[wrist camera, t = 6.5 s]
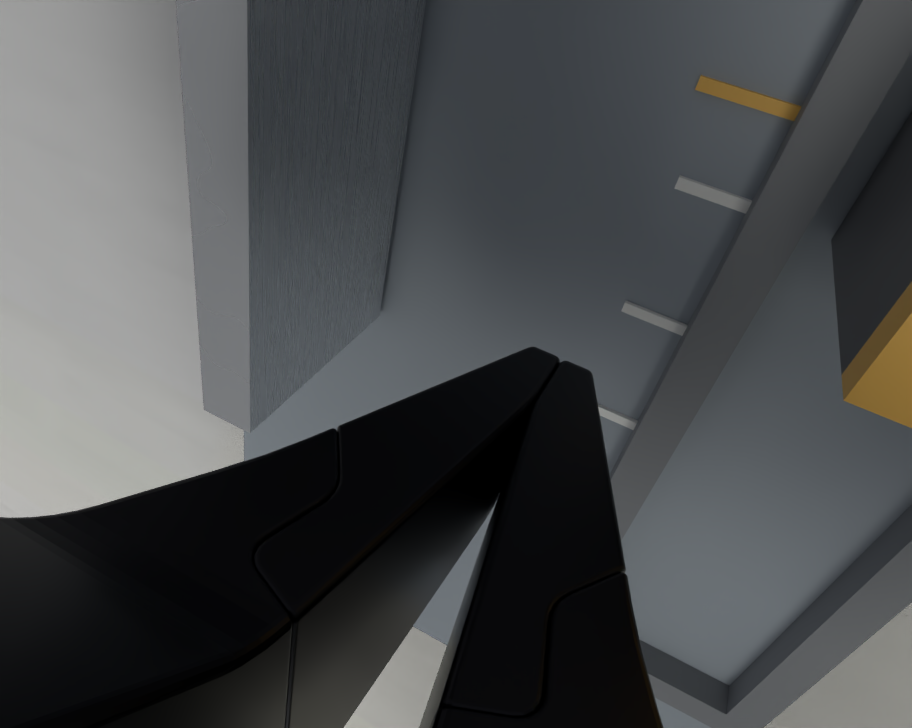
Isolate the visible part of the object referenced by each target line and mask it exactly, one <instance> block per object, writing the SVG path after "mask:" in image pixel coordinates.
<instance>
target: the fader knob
mask: <svg viewBox="0 0 912 728" xmlns="http://www.w3.org/2000/svg"><path fill="white" fill-rule="evenodd" d="M831 245H832V258H833V271H834V284H835V297H836V310H837V323H838V336H839V349H840V362H841V375H842V388H843V401H846V402H848V403H850V404H853V405H855V406H858V407H860V408H863V409H865V410H868V411H870V412H873V413H875V414H878V415H880V416H883V417H885V418H888V419H890V420H893V421H895V422H897V423H900V424H902V425H905V426H907V427H910V428H912V112H911V114H910V115H909V117H908V118H907V120H906V122H905V123H904V125H903V126H902V128H901V130H900V131H899V133H898V134H897V136H896V137H895V139H894V141H893V142H892V144H891V145H890V147H889V149H888V150H887V152H886V153H885V155H884V157H883V158H882V160H881V161H880V163H879V165H878V166H877V168H876V169H875V171H874V173H873V174H872V176H871V177H870V179H869V180H868V182H867V184H866V185H865V187H864V188H863V190H862V192H861V193H860V195H859V196H858V198H857V200H856V201H855V203H854V204H853V206H852V208H851V209H850V211H849V212H848V214H847V216H846V217H845V219H844V220H843V222H842V223H841V225H840V227H839V228H838V230H837V231H836V233H835V235H834V236H833V238H832V239H831Z"/></svg>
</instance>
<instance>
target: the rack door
mask: <svg viewBox="0 0 912 728" xmlns="http://www.w3.org/2000/svg"><path fill="white" fill-rule="evenodd" d="M425 3H426V0H176V9H177V23H178V38H179V53H180V67H181V82H182V96H183V111H184V126H185V140H186V155H187V170H188V184H189V199H190V213H191V228H192V243H193V257H194V272H195V286H196V301H197V316H198V330H199V345H200V360H201V374H202V389H203V403H204V410H206V411H208V412H210V413H211V414H213V415H215V416H217V417H219V418H221V419H223V420H225V421H227V422H229V423H231V424H233V425H235V426H237V427H239V428H241V429H243V430H244V431H246V432H248V433H251V432H252V431H253V430H254V429H256V428H257V427H258V426H259V425H260V424H261V423H262V422H263V421H264V420H265V419H267V418H268V417H269V416H270V415H271V414H272V413H273V412H274V411H275V410H277V409H278V408H279V407H280V406H281V405H282V404H283V403H284V402H285V401H286V400H288V399H289V398H290V397H291V396H292V395H293V394H294V393H295V392H296V391H297V390H299V389H300V388H301V387H302V386H303V385H304V384H305V383H306V382H307V381H309V380H310V379H311V378H312V377H313V376H314V375H315V374H316V373H317V372H318V371H320V370H321V369H322V368H323V367H324V366H325V365H326V364H327V363H328V362H330V361H331V360H332V359H333V358H334V357H335V356H336V355H337V354H338V353H339V352H341V351H342V350H343V349H344V348H345V347H346V346H347V345H348V344H349V343H351V342H352V341H353V340H354V339H355V338H356V337H357V336H358V335H359V334H360V333H362V332H363V331H364V330H365V329H366V328H367V327H368V326H369V325H370V324H371V323H373V322H374V321H375V320H376V319H377V318H378V317H379V315H380V308H381V301H382V294H383V288H384V281H385V274H386V267H387V261H388V254H389V247H390V240H391V234H392V227H393V220H394V213H395V206H396V200H397V193H398V186H399V179H400V173H401V166H402V159H403V152H404V146H405V139H406V132H407V125H408V118H409V112H410V105H411V98H412V91H413V85H414V78H415V71H416V64H417V57H418V51H419V44H420V37H421V30H422V24H423V17H424V10H425Z"/></svg>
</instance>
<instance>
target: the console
mask: <svg viewBox="0 0 912 728" xmlns="http://www.w3.org/2000/svg"><path fill="white" fill-rule="evenodd" d="M911 112H912V0H426V3H425V10H424V17H423V24H422V30H421V37H420V44H419V51H418V57H417V64H416V71H415V78H414V85H413V91H412V98H411V105H410V112H409V118H408V125H407V132H406V139H405V146H404V152H403V159H402V166H401V173H400V179H399V186H398V193H397V200H396V206H395V213H394V220H393V227H392V234H391V240H390V247H389V254H388V261H387V267H386V274H385V281H384V288H383V294H382V301H381V308H380V315H379V317H378V318H377V319H376V320H375V321H374V322H373V323H371V324H370V325H369V326H368V327H367V328H366V329H365V330H364V331H363V332H362V333H360V334H359V335H358V336H357V337H356V338H355V339H354V340H353V341H352V342H351V343H349V344H348V345H347V346H346V347H345V348H344V349H343V350H342V351H341V352H339V353H338V354H337V355H336V356H335V357H334V358H333V359H332V360H331V361H330V362H328V363H327V364H326V365H325V366H324V367H323V368H322V369H321V370H320V371H318V372H317V373H316V374H315V375H314V376H313V377H312V378H311V379H310V380H309V381H307V382H306V383H305V384H304V385H303V386H302V387H301V388H300V389H299V390H297V391H296V392H295V393H294V394H293V395H292V396H291V397H290V398H289V399H288V400H286V401H285V402H284V403H283V404H282V405H281V406H280V407H279V408H278V409H277V410H275V411H274V412H273V413H272V414H271V415H270V416H269V417H268V418H267V419H265V420H264V421H263V422H262V423H261V424H260V425H259V426H258V427H257V428H256V429H254V430H253V431H252V432H251V433H248V432H246V431H244V461H246V460H249V459H252V458H255V457H258V456H262V455H265V454H268V453H270V452H273V451H275V450H278V449H281V448H283V447H286V446H289V445H291V444H294V443H296V442H299V441H302V440H304V439H307V438H309V437H312V436H314V435H317V434H319V433H322V432H324V431H326V430H329V429H331V428H334V429H336V430H337V427H338V426H339V425H342V424H344V423H346V422H349V421H351V420H354V419H356V418H359V417H361V416H363V415H366V414H368V413H371V412H373V411H375V410H378V409H380V408H383V407H385V406H388V405H390V404H392V403H395V402H397V401H400V400H402V399H405V398H407V397H409V396H412V395H414V394H417V393H419V392H421V391H424V390H426V389H429V388H431V387H434V386H436V385H438V384H441V383H443V382H446V381H448V380H451V379H453V378H455V377H458V376H460V375H463V374H465V373H467V372H470V371H472V370H475V369H477V368H480V367H482V366H484V365H487V364H489V363H492V362H494V361H496V360H499V359H501V358H504V357H506V356H509V355H511V354H513V353H516V352H518V351H521V350H523V349H526V348H528V347H537V348H539V349H541V350H544V351H546V352H548V353H551V354H553V355H555V356H557V357H558V358H559V359H560V362H562V361H569V362H571V363H574V364H576V365H578V366H581V367H583V368H585V369H588V370H590V371H591V373H592V375H593V379H594V385H595V391H596V397H597V403H598V408H599V414H600V420H601V426H602V432H603V438H604V443H605V449H606V455H607V461H608V467H609V473H610V479H611V484H612V490H613V496H614V502H615V508H616V514H617V519H618V525H619V531H620V537H621V543H622V549H623V554H624V560H625V566H626V571H625V574H626V575H627V576H628V582H629V588H630V593H631V599H632V605H633V610H634V615H635V620H636V625H637V629H638V634H639V639H640V644H641V648H642V653H643V657H644V660H645V664H646V668H647V671H648V675H649V678H650V682H651V686H652V689H653V693H654V697H655V700H656V704H657V707H658V711H659V714H660V717H661V721H662V724H663V727H664V728H763V727H765V726H766V725H767V724H768V723H769V722H771V721H772V720H773V719H774V718H775V717H776V716H778V715H779V714H780V713H781V712H782V711H784V710H785V709H786V708H787V707H788V706H789V705H791V704H792V703H793V702H794V701H795V700H797V699H798V698H799V697H800V696H801V695H802V694H804V693H805V692H806V691H807V690H808V689H810V688H811V687H812V686H813V685H814V684H815V683H817V682H818V681H819V680H820V679H821V678H823V677H824V676H825V675H826V674H827V673H829V672H830V671H831V670H832V669H833V668H834V667H836V666H837V665H838V664H839V663H840V662H842V661H843V660H844V659H845V658H846V657H847V656H849V655H850V654H851V653H852V652H853V651H855V650H856V649H857V648H858V647H859V646H860V645H862V644H863V643H864V642H865V641H866V640H868V639H869V638H870V637H871V636H872V635H873V634H875V633H876V632H877V631H878V630H879V629H881V628H882V627H883V626H884V625H885V624H886V623H888V622H889V621H890V620H891V619H892V618H894V617H895V616H896V615H897V614H898V613H899V612H901V611H902V610H903V609H904V608H905V607H907V606H908V605H909V604H910V603H911V602H912V428H910V427H907V426H905V425H902V424H900V423H897V422H895V421H893V420H890V419H888V418H885V417H883V416H880V415H878V414H875V413H873V412H870V411H868V410H865V409H863V408H860V407H858V406H855V405H853V404H850V403H848V402H846V401H843V388H842V375H841V362H840V349H839V336H838V323H837V310H836V297H835V284H834V271H833V258H832V245H831V239H832V238H833V236H834V235H835V233H836V231H837V230H838V228H839V227H840V225H841V223H842V222H843V220H844V219H845V217H846V216H847V214H848V212H849V211H850V209H851V208H852V206H853V204H854V203H855V201H856V200H857V198H858V196H859V195H860V193H861V192H862V190H863V188H864V187H865V185H866V184H867V182H868V180H869V179H870V177H871V176H872V174H873V173H874V171H875V169H876V168H877V166H878V165H879V163H880V161H881V160H882V158H883V157H884V155H885V153H886V152H887V150H888V149H889V147H890V145H891V144H892V142H893V141H894V139H895V137H896V136H897V134H898V133H899V131H900V130H901V128H902V126H903V125H904V123H905V122H906V120H907V118H908V117H909V115H910V114H911ZM496 502H497V501H496ZM495 505H496V503H495ZM495 505H494V507H493V509H492V510H491V512H490V513H489V515H488V516H487V518H486V520H485V521H484V523H483V524H482V526H481V527H480V529H479V530H478V531H477V533H476V534H475V536H474V537H473V539H472V540H471V542H470V543H469V545H468V546H467V548H466V549H465V551H464V552H463V553H462V555H461V556H460V558H459V559H458V561H457V562H456V564H455V565H454V567H453V568H452V570H451V571H450V572H449V574H448V575H447V577H446V578H445V580H444V581H443V583H442V584H441V586H440V587H439V589H438V590H437V591H436V593H435V594H434V596H433V597H432V599H431V600H430V602H429V603H428V605H427V606H426V608H425V609H424V611H423V612H422V613H421V615H420V616H419V618H418V619H417V621H416V622H415V624H414V625H413V627H415V628H417V629H419V630H421V631H422V632H424V633H426V634H428V635H430V636H431V637H433V638H435V639H437V640H439V641H440V642H442V643H444V644H446V645H447V644H448V642H449V639H450V636H451V633H452V630H453V627H454V624H455V621H456V618H457V615H458V612H459V609H460V606H461V603H462V600H463V597H464V594H465V591H466V589H467V586H468V583H469V580H470V577H471V574H472V571H473V568H474V565H475V562H476V559H477V556H478V553H479V550H480V547H481V544H482V541H483V539H484V536H485V533H486V530H487V527H488V524H489V521H490V518H491V516H492V513H493V510H494V508H495Z"/></svg>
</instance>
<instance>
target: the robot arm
mask: <svg viewBox="0 0 912 728" xmlns="http://www.w3.org/2000/svg"><path fill="white" fill-rule="evenodd" d="M496 501H497V502H496ZM495 503H496V505H495ZM494 505H495V508H494V510H493V513H492V516H491V518H490V521H489V524H488V527H487V530H486V533H485V536H484V539H483V541H482V544H481V547H480V550H479V553H478V556H477V559H476V562H475V565H474V568H473V571H472V574H471V577H470V580H469V583H468V586H467V589H466V591H465V594H464V597H463V600H462V603H461V606H460V609H459V612H458V615H457V618H456V621H455V624H454V627H453V630H452V633H451V636H450V639H449V642H448V644H447V647H446V650H445V653H444V656H443V659H442V662H441V665H440V668H439V671H438V674H437V677H436V680H435V683H434V686H433V689H432V692H431V694H430V697H429V700H428V703H427V706H426V709H425V712H424V715H423V718H422V721H421V724H420V727H419V728H664V727H663V724H662V721H661V717H660V714H659V711H658V707H657V704H656V700H655V697H654V693H653V689H652V686H651V682H650V678H649V675H648V671H647V668H646V664H645V660H644V657H643V653H642V648H641V644H640V639H639V634H638V629H637V625H636V620H635V615H634V610H633V605H632V599H631V593H630V588H629V582H628V576H627V575H626V574H625V571H626V566H625V560H624V554H623V549H622V543H621V537H620V531H619V525H618V519H617V514H616V508H615V502H614V496H613V490H612V484H611V479H610V473H609V467H608V461H607V455H606V449H605V443H604V438H603V432H602V426H601V420H600V414H599V408H598V403H597V397H596V391H595V385H594V379H593V375H592V373H591V371H590V370H588V369H585V368H583V367H581V366H578V365H576V364H574V363H571V362H569V361H562V362H560V359H559V358H558V357H557V356H555V355H553V354H551V353H548V352H546V351H544V350H541V349H539V348H537V347H528V348H526V349H523V350H521V351H518V352H516V353H513V354H511V355H509V356H506V357H504V358H501V359H499V360H496V361H494V362H492V363H489V364H487V365H484V366H482V367H480V368H477V369H475V370H472V371H470V372H467V373H465V374H463V375H460V376H458V377H455V378H453V379H451V380H448V381H446V382H443V383H441V384H438V385H436V386H434V387H431V388H429V389H426V390H424V391H421V392H419V393H417V394H414V395H412V396H409V397H407V398H405V399H402V400H400V401H397V402H395V403H392V404H390V405H388V406H385V407H383V408H380V409H378V410H375V411H373V412H371V413H368V414H366V415H363V416H361V417H359V418H356V419H354V420H351V421H349V422H346V423H344V424H342V425H339V426H338V427H337V430H336V429H334V428H331V429H329V430H326V431H324V432H322V433H319V434H317V435H314V436H312V437H309V438H307V439H304V440H302V441H299V442H296V443H294V444H291V445H289V446H286V447H283V448H281V449H278V450H275V451H273V452H270V453H268V454H265V455H262V456H258V457H255V458H252V459H249V460H246V461H243V462H240V463H237V464H234V465H231V466H228V467H224V468H221V469H218V470H215V471H212V472H208V473H205V474H201V475H198V476H195V477H191V478H188V479H185V480H181V481H178V482H175V483H171V484H168V485H164V486H161V487H158V488H154V489H151V490H148V491H144V492H141V493H138V494H134V495H131V496H127V497H124V498H121V499H117V500H114V501H111V502H107V503H104V504H101V505H97V506H93V507H89V508H85V509H81V510H78V511H72V512H67V513H61V514H56V515H48V516H39V517H24V518H5V517H0V728H344V726H345V725H346V723H347V722H348V720H349V719H350V717H351V716H352V714H353V713H354V711H355V710H356V709H357V707H358V706H359V704H360V703H361V701H362V700H363V698H364V697H365V695H366V694H367V692H368V691H369V690H370V688H371V687H372V685H373V684H374V682H375V681H376V679H377V678H378V676H379V675H380V673H381V672H382V670H383V669H384V668H385V666H386V665H387V663H388V662H389V660H390V659H391V657H392V656H393V654H394V653H395V651H396V650H397V649H398V647H399V646H400V644H401V643H402V641H403V640H404V638H405V637H406V635H407V634H408V632H409V631H410V630H411V628H412V627H413V625H414V624H415V622H416V621H417V619H418V618H419V616H420V615H421V613H422V612H423V611H424V609H425V608H426V606H427V605H428V603H429V602H430V600H431V599H432V597H433V596H434V594H435V593H436V591H437V590H438V589H439V587H440V586H441V584H442V583H443V581H444V580H445V578H446V577H447V575H448V574H449V572H450V571H451V570H452V568H453V567H454V565H455V564H456V562H457V561H458V559H459V558H460V556H461V555H462V553H463V552H464V551H465V549H466V548H467V546H468V545H469V543H470V542H471V540H472V539H473V537H474V536H475V534H476V533H477V531H478V530H479V529H480V527H481V526H482V524H483V523H484V521H485V520H486V518H487V516H488V515H489V513H490V512H491V510H492V509H493V507H494Z"/></svg>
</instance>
